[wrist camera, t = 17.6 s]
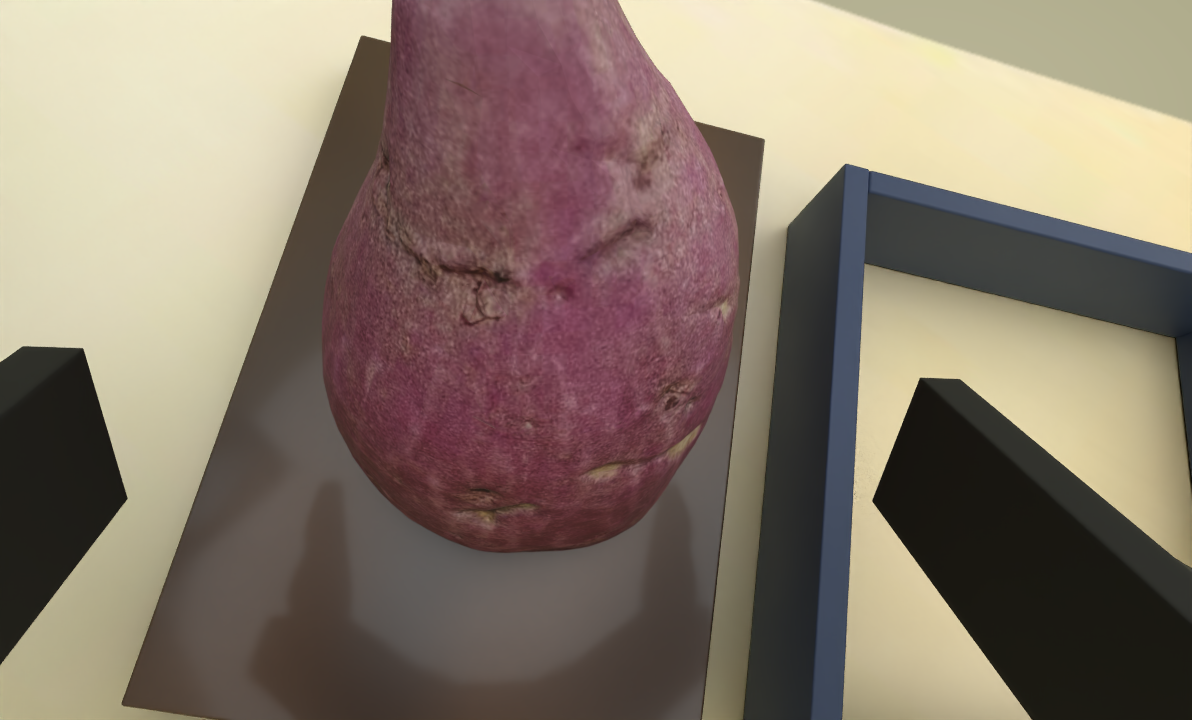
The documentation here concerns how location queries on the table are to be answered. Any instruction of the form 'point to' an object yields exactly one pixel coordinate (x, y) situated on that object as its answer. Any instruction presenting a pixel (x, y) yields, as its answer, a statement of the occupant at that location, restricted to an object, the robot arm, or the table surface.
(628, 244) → the vegetable
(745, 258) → the cutting board
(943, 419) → the robot arm
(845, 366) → the square frame
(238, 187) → the table surface
